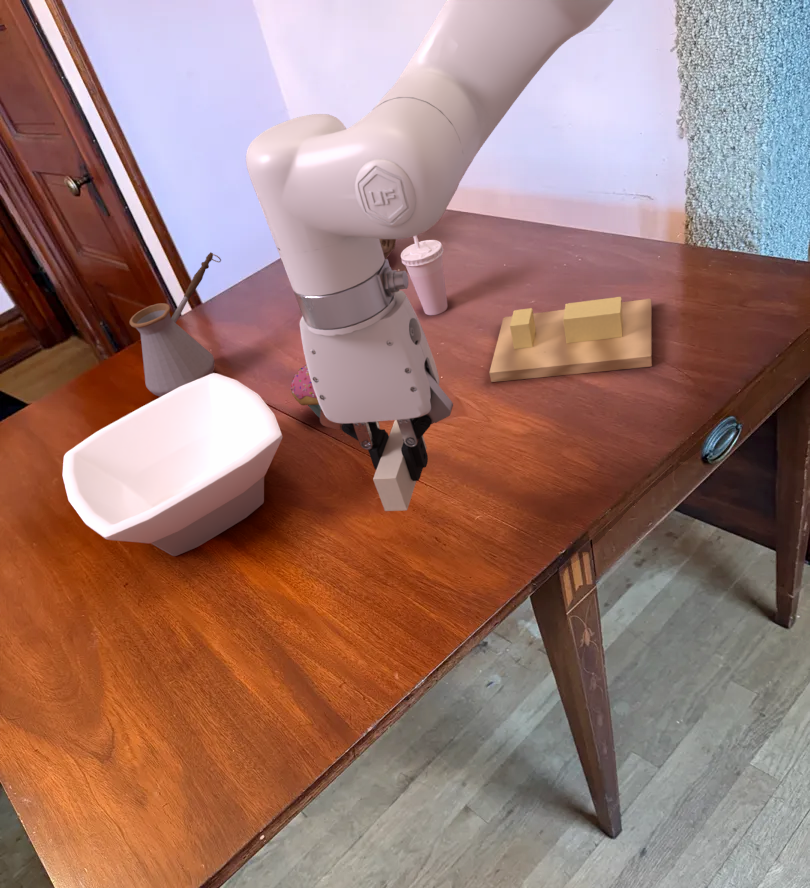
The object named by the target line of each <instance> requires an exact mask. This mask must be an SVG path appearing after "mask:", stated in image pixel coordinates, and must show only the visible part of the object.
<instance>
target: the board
mask: <svg viewBox="0 0 810 888" xmlns="http://www.w3.org/2000/svg"><path fill="white" fill-rule="evenodd" d="M652 304H653V303H652V298H643V299H636V300H628V301H622V313H623V332H622V337H619V338H610V339H601V340H592V341H583V342H575V343H566V337H565V329H564V321H563V318H564V312H565V309H558V310H551V311H549V310H548V311H543V312H533V316H534V322H535V328H536V333H535V338H534V343H533V347H529V348H520V349H514V346H513V340H512V335H511V329H510V324H511V320H512V316H513V315H511V316H504V317H502V320H501V321H502V322H501V325H500V330H499V334H498V338H497V341H496V345H495V349H494V353H493V357H492V360H491V365H490V369H489V373H488V374H489V378H490V382H491V383H497V382H507V381H517V380H519V381H520V380H527V379H539V378H549V377H559V376H570V375H579V374H589V373H590V374H591V373H599V372H608V371H620V370H621V371H622V370H628V369H629V370H630V369H640V368H650V367H652V366H653V323H652V322H653V305H652Z"/></svg>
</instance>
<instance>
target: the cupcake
mask: <svg viewBox="0 0 810 888" xmlns="http://www.w3.org/2000/svg"><path fill="white" fill-rule="evenodd" d="M289 387H290V393H291V395H292V397H293V398H294V399H295V401H297V402H298V403H299V405H301V406H307V407H309V409H310V410H311V411H313V413H314V414H315V415H316V416H317V418H319V419H320V412H321V407H320V405H319V402H318V400H317V397H316V394H315V391H314V388H313V385H312V382H311V379H310V375H309V371H308V368H307V364H306V363H305V364H304V365H303V366H302V367H301V368H299V370H298V371H297V372H296V374H295V375H294V376H293V378H292V380H291V384H290V386H289Z"/></svg>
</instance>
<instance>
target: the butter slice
mask: <svg viewBox="0 0 810 888" xmlns="http://www.w3.org/2000/svg"><path fill="white" fill-rule="evenodd" d="M533 313H534V309H533V308H532V307H530V308H523V309H521V308H520V309H516V310H513V312H512V315H511V316H512V320H511V324H510V329H511V335H512V340H513V346H514V349H520V348H529V347H533V343H534V338H535V333H536V328H535V322H534V316H533Z"/></svg>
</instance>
